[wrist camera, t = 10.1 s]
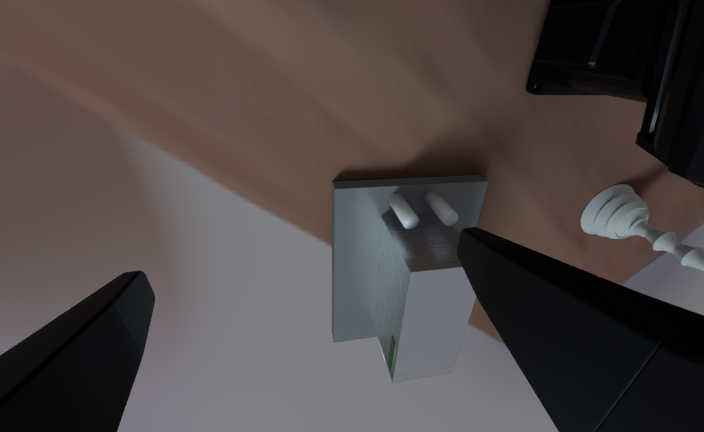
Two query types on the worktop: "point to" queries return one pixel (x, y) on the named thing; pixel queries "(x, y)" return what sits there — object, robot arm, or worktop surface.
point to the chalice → (633, 223)
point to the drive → (420, 297)
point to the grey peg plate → (364, 226)
